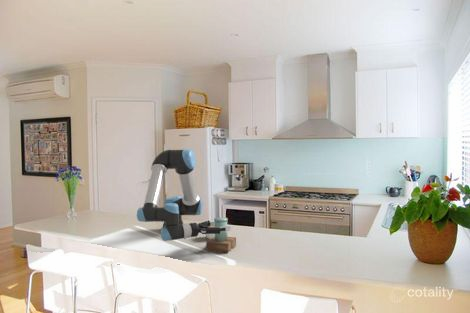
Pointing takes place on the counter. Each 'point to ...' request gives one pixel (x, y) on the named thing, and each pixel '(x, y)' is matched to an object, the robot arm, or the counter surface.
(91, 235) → the counter surface
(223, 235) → the canister
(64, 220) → the counter surface
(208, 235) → the lidded jar
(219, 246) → the slab
